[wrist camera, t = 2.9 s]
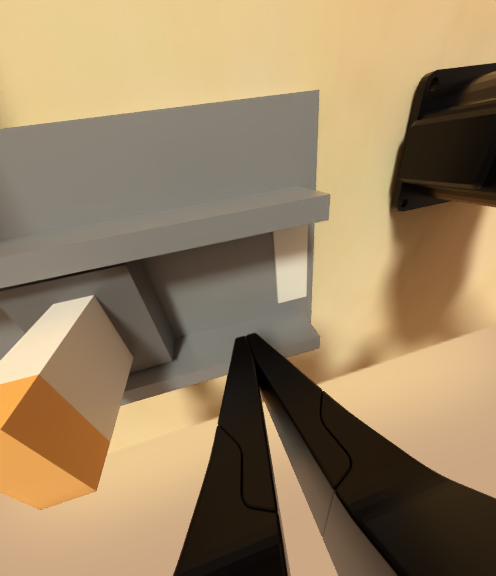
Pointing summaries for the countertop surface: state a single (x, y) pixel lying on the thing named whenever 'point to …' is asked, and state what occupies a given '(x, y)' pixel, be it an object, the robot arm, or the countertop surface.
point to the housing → (175, 221)
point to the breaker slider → (72, 376)
